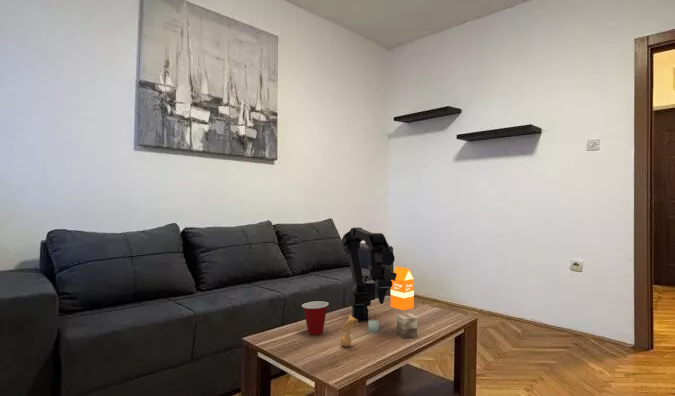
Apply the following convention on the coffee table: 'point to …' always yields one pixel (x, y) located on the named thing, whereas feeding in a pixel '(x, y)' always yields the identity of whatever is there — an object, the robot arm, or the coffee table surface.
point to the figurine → (346, 339)
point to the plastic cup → (315, 316)
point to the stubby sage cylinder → (373, 326)
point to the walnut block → (407, 333)
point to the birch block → (406, 321)
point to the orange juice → (402, 289)
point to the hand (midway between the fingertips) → (377, 301)
